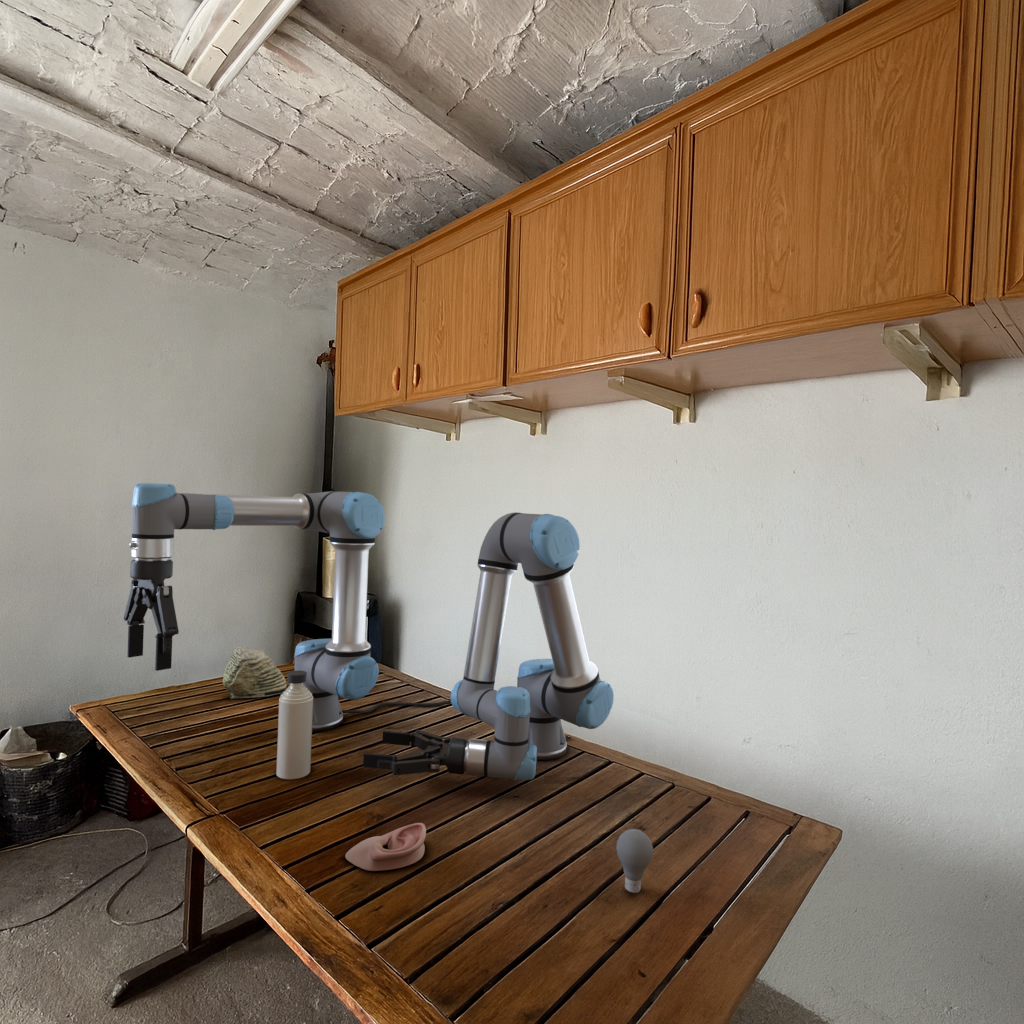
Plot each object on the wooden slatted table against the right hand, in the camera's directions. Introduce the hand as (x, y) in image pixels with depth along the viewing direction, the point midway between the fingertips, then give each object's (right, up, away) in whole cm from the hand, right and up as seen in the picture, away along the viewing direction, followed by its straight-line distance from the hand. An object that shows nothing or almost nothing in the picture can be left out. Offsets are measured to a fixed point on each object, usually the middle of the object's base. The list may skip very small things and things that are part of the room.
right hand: (373, 747), depth 142 cm
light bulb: (+51, -10, -37) cm, 64 cm away
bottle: (-19, -6, +2) cm, 20 cm away
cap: (-18, +16, +2) cm, 24 cm away
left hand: (-43, +22, -13) cm, 50 cm away
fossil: (-49, -4, +56) cm, 75 cm away
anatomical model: (+9, -8, -29) cm, 32 cm away
